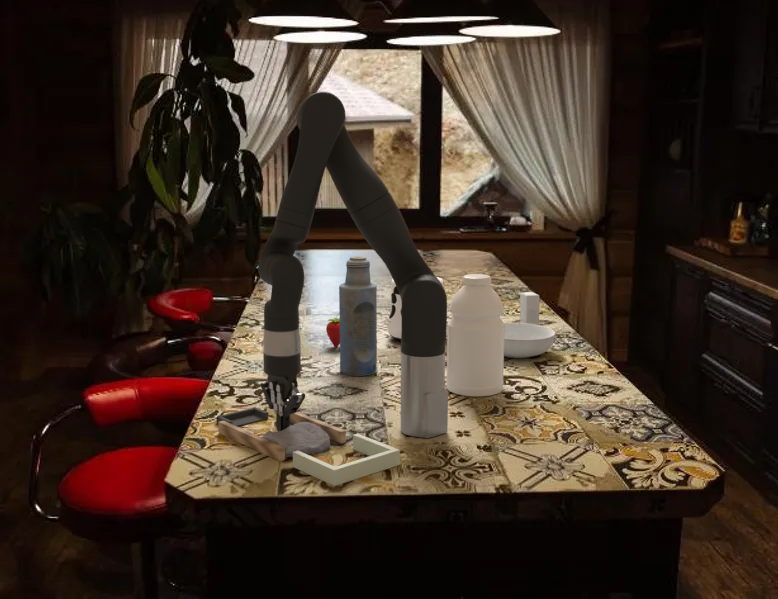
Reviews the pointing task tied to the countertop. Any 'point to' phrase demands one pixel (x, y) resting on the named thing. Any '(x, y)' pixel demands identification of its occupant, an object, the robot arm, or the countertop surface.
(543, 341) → the serving bowl
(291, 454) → the stone block
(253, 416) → the dark gray shallow tray
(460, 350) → the bottle
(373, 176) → the robot arm
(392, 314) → the milk container
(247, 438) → the channel
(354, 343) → the bottle
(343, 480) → the u-shaped green frame
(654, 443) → the countertop surface
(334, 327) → the strawberry
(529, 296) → the skincare box
